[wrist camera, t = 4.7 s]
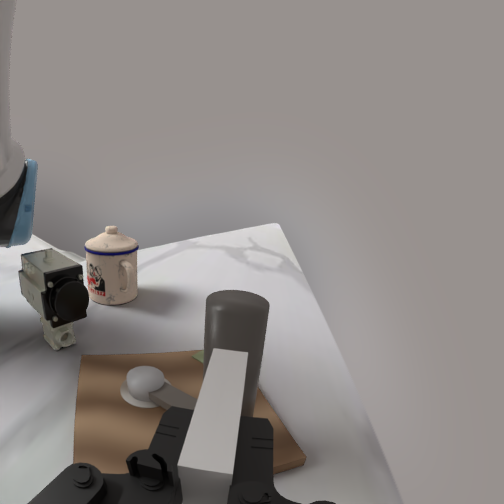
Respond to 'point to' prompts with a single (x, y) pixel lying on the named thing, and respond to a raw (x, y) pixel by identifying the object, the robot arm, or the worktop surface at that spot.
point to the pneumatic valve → (54, 293)
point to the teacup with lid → (112, 267)
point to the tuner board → (147, 410)
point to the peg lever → (220, 337)
